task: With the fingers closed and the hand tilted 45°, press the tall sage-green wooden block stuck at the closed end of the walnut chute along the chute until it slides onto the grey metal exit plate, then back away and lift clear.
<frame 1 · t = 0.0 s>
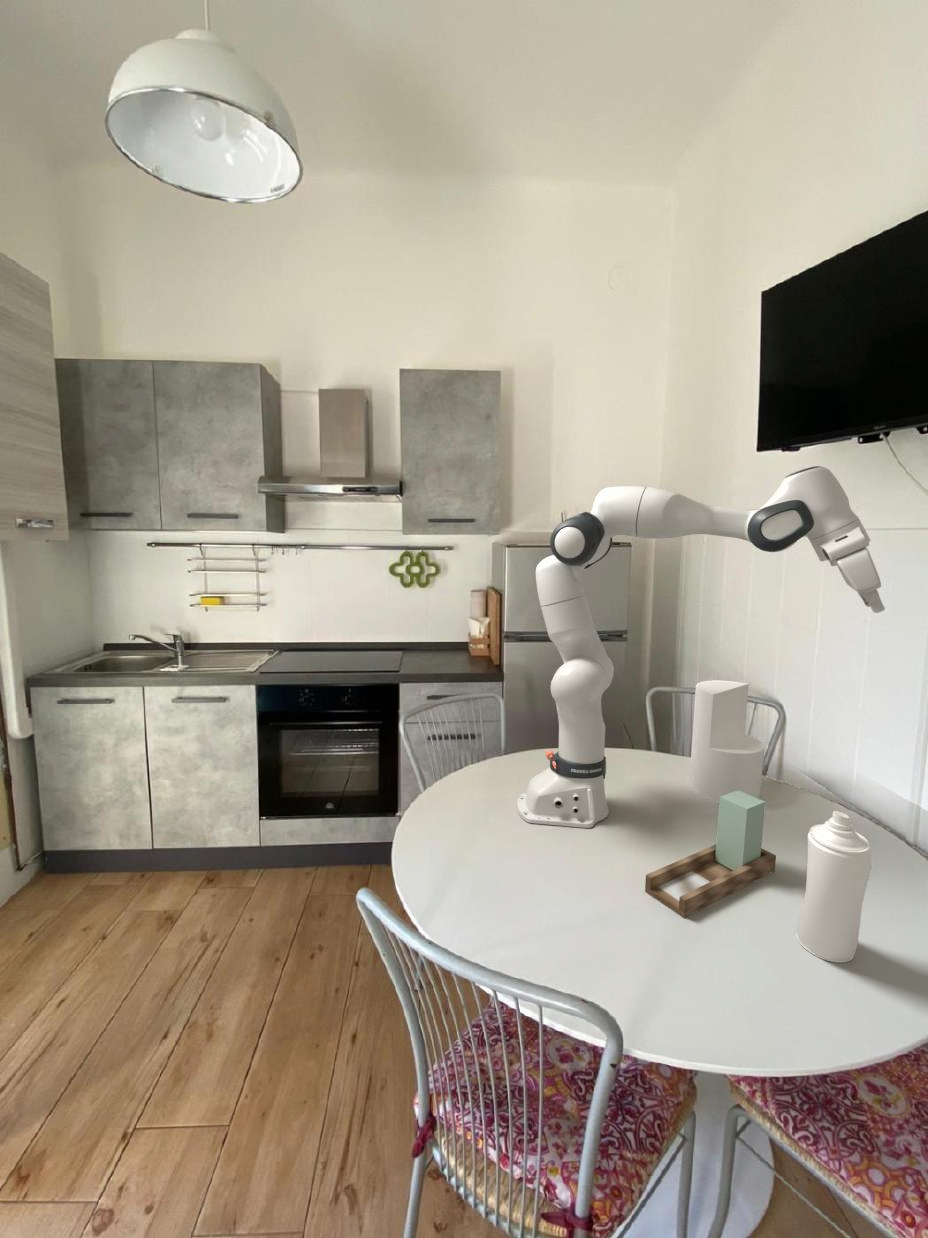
hand: (875, 608, 111), 54 cm above the table, tool tilted 30°, fingers open, 8 cm apart
jammed block: (739, 831, 118), point 8 cm above the table, slide at 0.0 cm
cylinder: (723, 791, 155), on the table
spray can: (826, 951, 97), on the table
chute: (711, 881, 115), on the table
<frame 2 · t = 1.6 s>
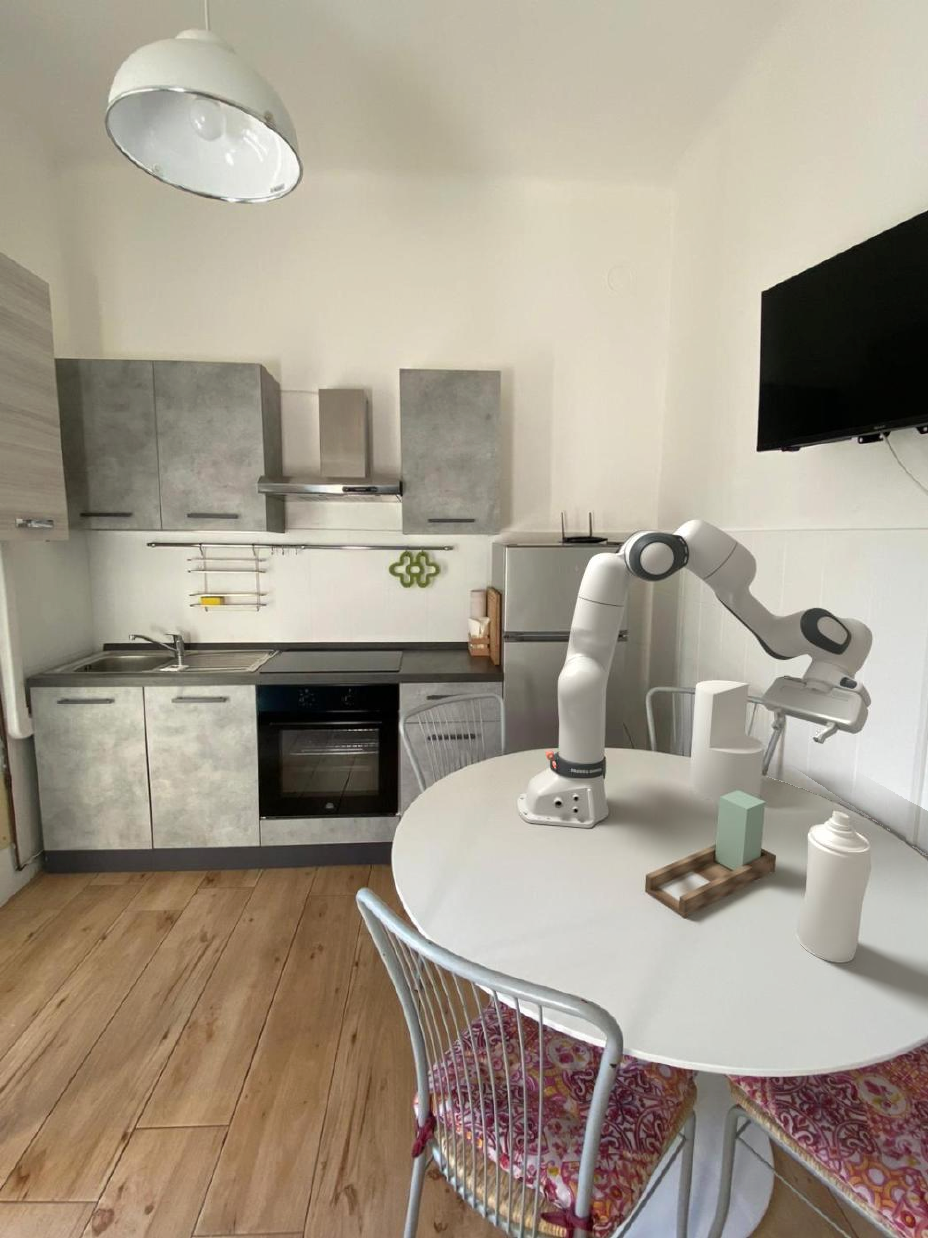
hand: (795, 735, 124), 26 cm above the table, tool tilted 45°, fingers open, 8 cm apart
nothing on the table moved.
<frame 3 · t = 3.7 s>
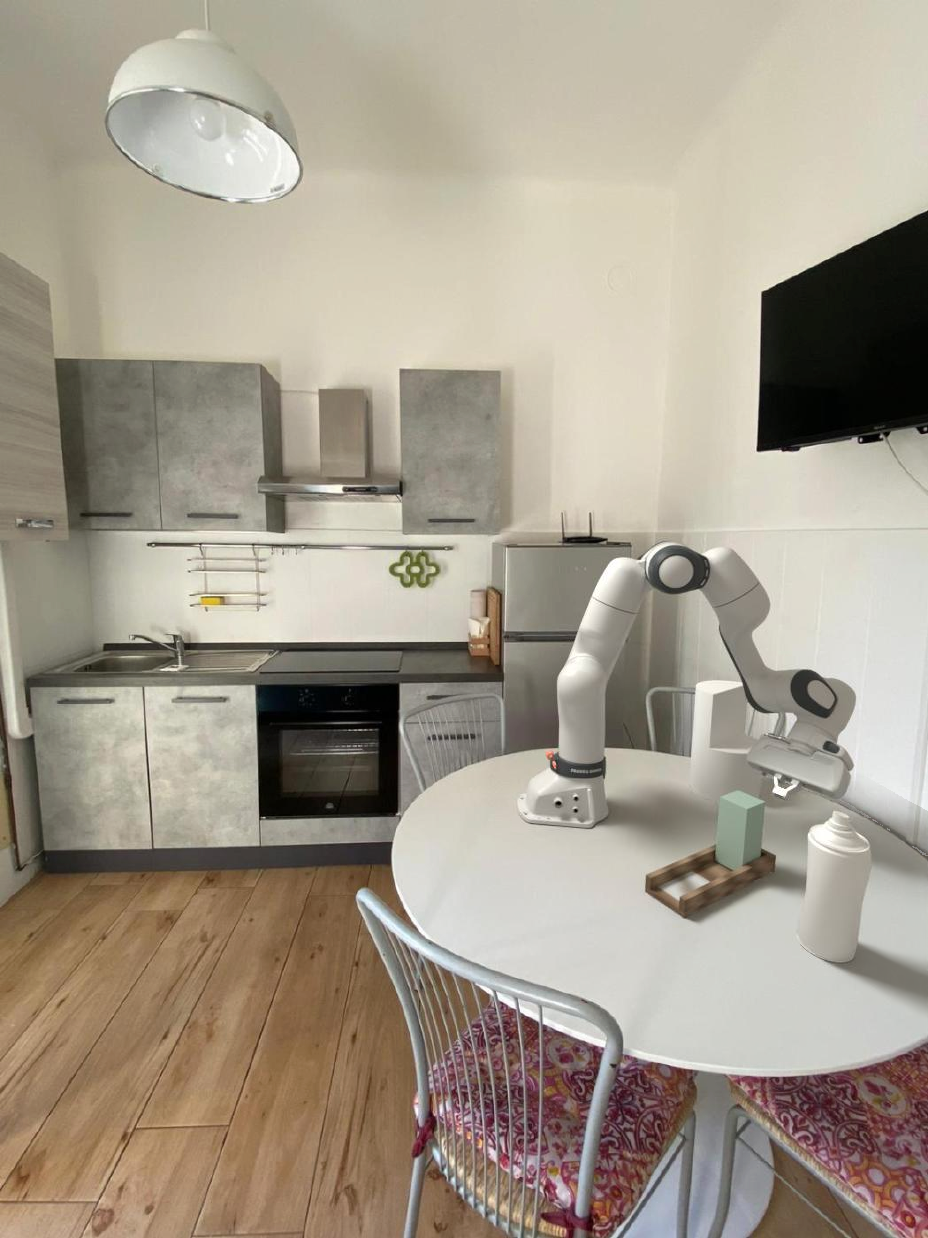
hand: (779, 797, 125), 12 cm above the table, tool tilted 45°, fingers closed
nothing on the table moved.
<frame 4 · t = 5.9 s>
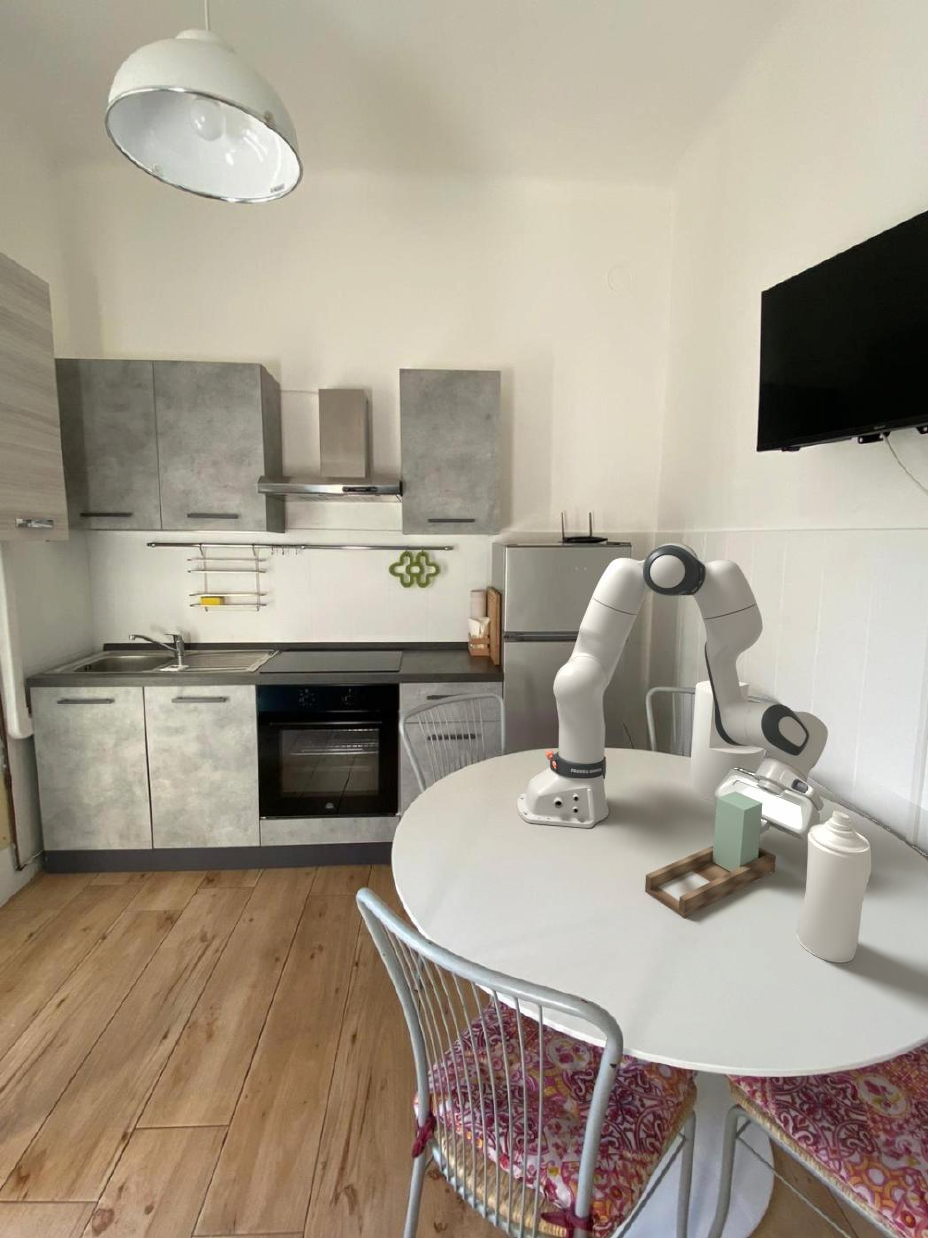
hand: (746, 837, 120), 6 cm above the table, tool tilted 45°, fingers closed, pressing on jammed block
jammed block: (737, 832, 118), point 8 cm above the table, slide at 0.9 cm, touching gripper
everything else where it was.
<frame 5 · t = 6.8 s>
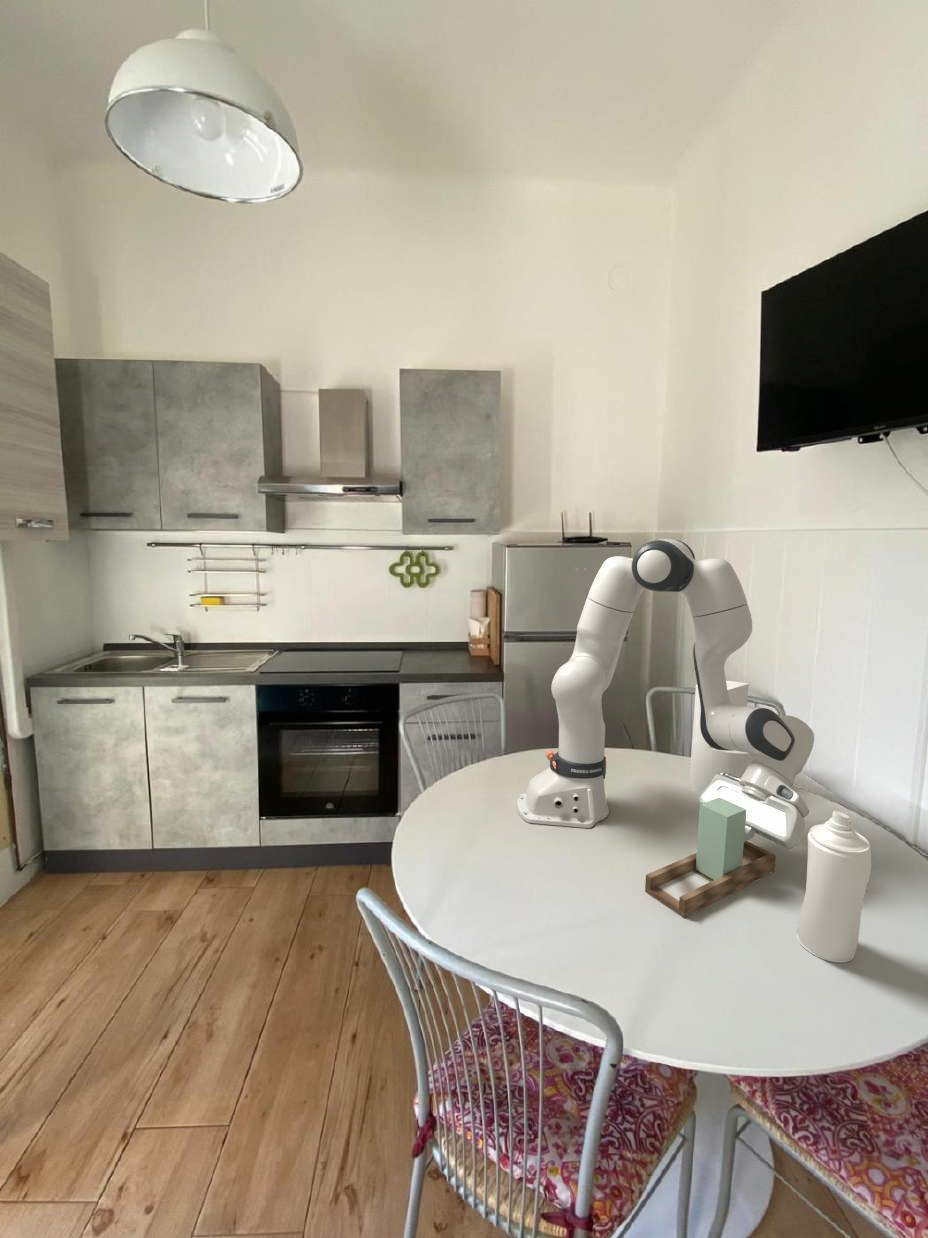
hand: (730, 844, 117), 6 cm above the table, tool tilted 45°, fingers closed, pressing on jammed block
jammed block: (720, 839, 115), point 8 cm above the table, slide at 6.2 cm, touching gripper
everything else where it was.
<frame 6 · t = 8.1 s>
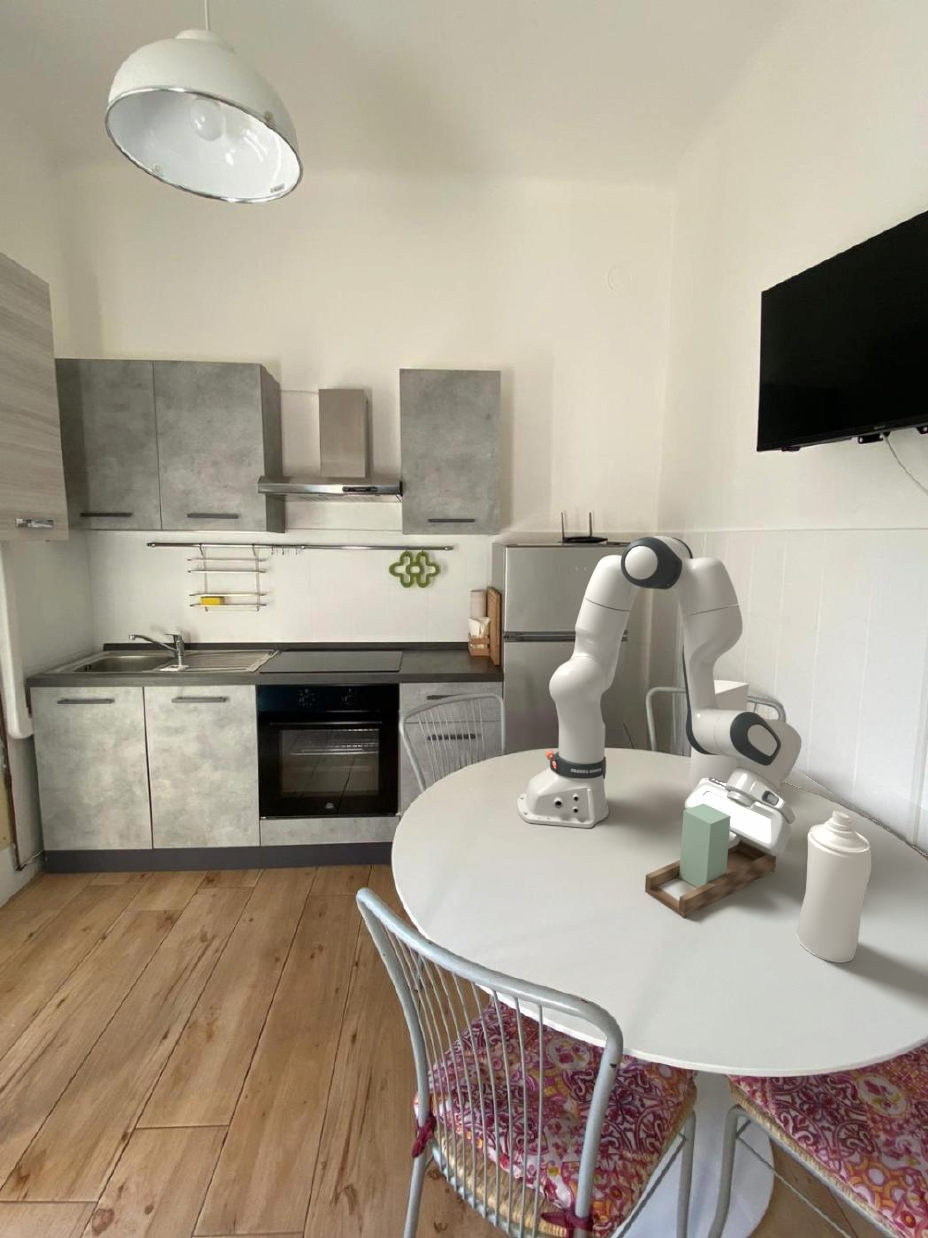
hand: (715, 851, 115), 6 cm above the table, tool tilted 45°, fingers closed, pressing on jammed block
jammed block: (704, 846, 113), point 8 cm above the table, slide at 11.1 cm, touching gripper
everything else where it was.
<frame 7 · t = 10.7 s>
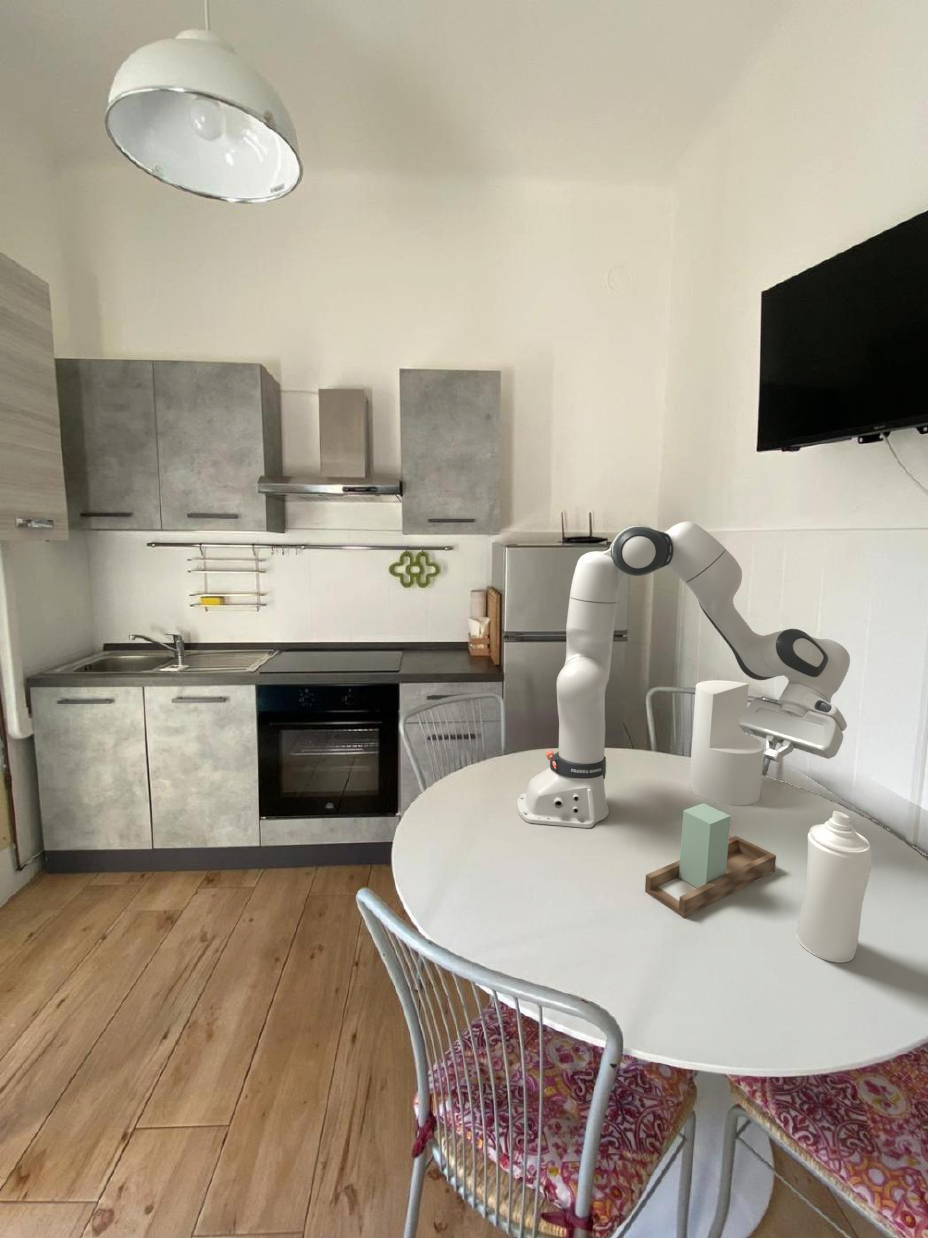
hand: (770, 758, 122), 21 cm above the table, tool tilted 45°, fingers closed
jammed block: (704, 847, 113), point 8 cm above the table, slide at 11.2 cm
everything else where it was.
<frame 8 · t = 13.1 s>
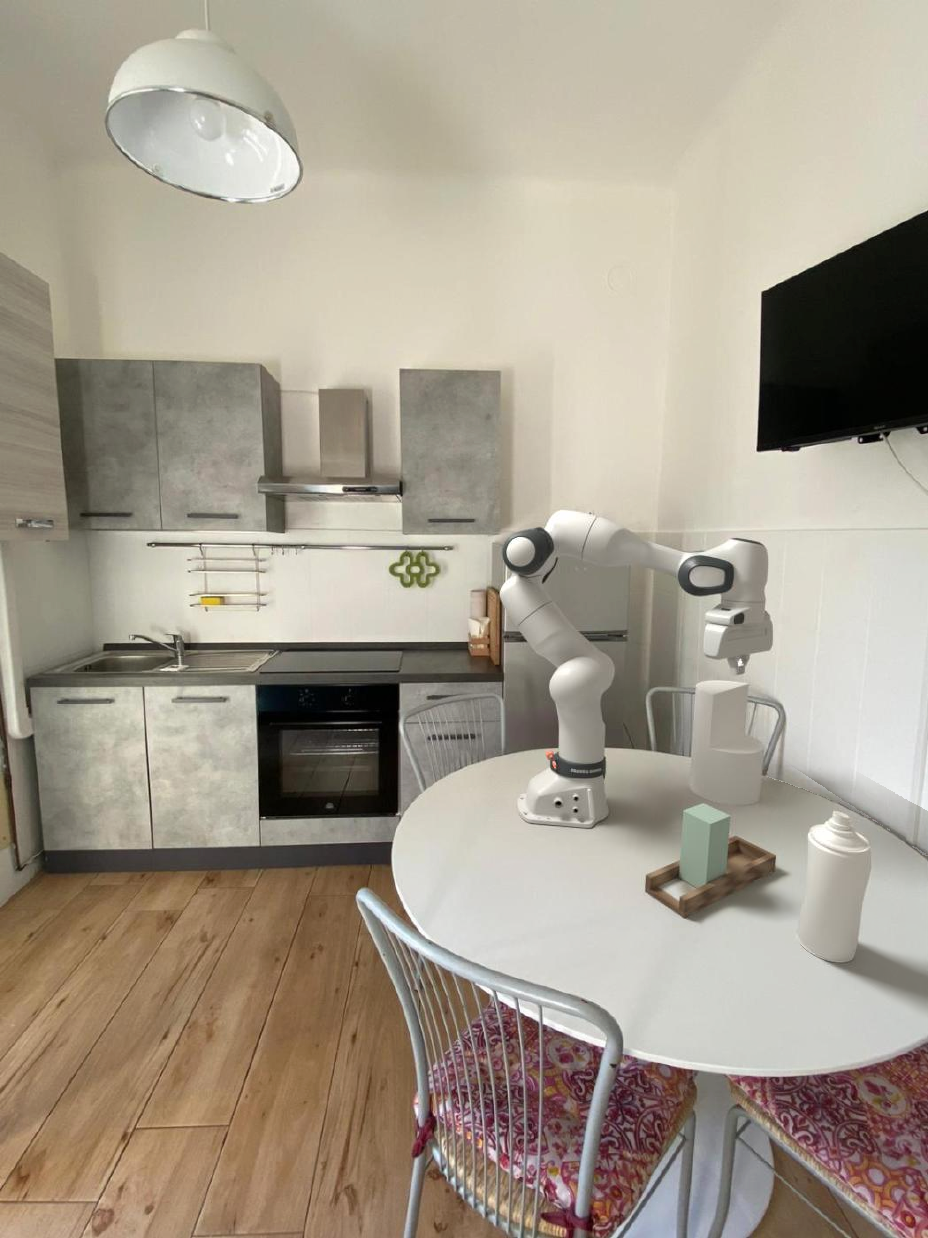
hand: (737, 674, 130), 37 cm above the table, tool pointing down, fingers closed
nothing on the table moved.
at the end: jammed block slide at 11.2 cm; jammed block moved 11.2 cm from its start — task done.
